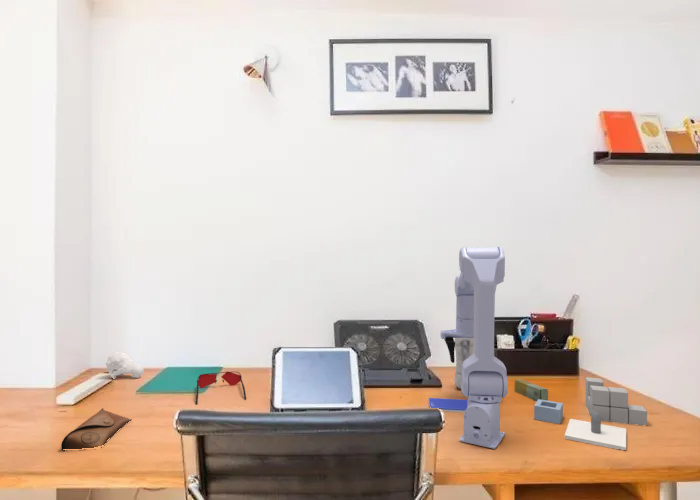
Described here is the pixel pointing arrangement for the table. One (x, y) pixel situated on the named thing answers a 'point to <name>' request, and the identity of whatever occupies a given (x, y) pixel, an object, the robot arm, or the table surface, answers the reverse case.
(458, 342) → the plastic bottle
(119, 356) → the white lumpy piece
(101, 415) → the sunglasses case
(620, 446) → the post plate
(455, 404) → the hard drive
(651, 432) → the table surface
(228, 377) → the glasses
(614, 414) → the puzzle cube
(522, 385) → the medication box
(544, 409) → the grey square ring
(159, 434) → the table surface
